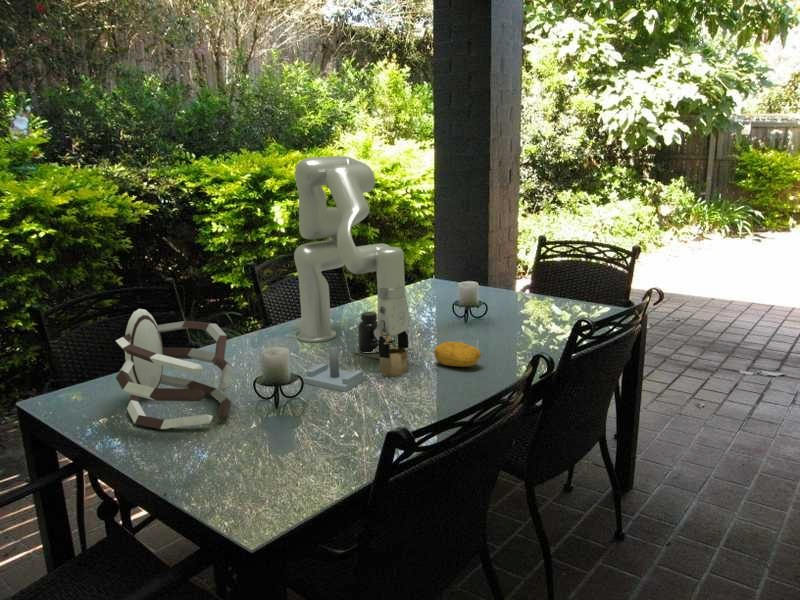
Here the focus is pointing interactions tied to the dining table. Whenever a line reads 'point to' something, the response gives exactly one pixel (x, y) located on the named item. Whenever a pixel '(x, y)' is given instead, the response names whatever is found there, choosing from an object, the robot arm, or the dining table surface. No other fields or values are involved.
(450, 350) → the potato
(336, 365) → the shaft stand
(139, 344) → the disc with segmented arms
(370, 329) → the supplement bottle
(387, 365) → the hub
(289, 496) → the dining table surface
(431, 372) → the dining table surface
